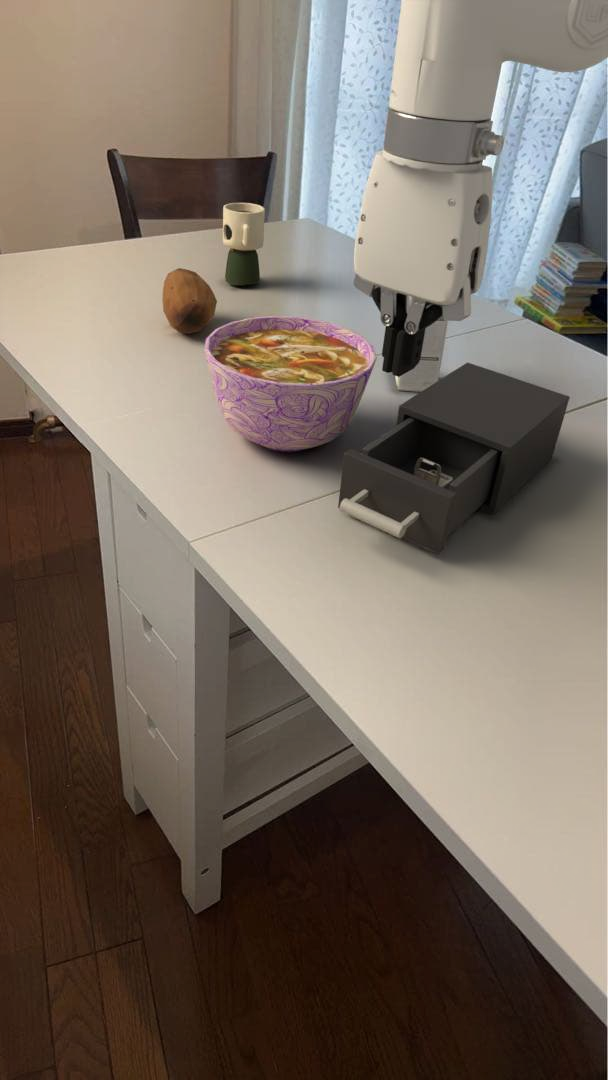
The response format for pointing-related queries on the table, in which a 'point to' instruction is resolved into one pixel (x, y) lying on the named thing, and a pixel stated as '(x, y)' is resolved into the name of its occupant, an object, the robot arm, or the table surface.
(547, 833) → the table surface
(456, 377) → the small drawer cabinet
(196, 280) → the potato
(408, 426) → the open drawer with handle
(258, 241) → the character mug
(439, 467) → the strap clip
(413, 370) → the syrup box
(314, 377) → the bowl of food
